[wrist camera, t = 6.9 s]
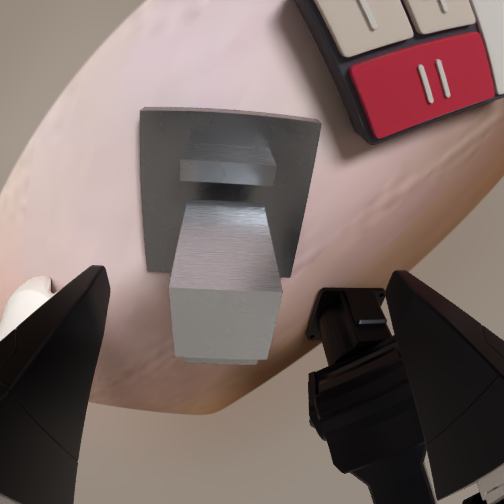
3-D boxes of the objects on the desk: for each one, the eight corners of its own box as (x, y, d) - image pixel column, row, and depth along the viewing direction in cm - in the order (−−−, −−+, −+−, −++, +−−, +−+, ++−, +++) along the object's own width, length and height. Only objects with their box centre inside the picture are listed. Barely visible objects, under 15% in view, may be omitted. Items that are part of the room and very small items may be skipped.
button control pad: (295, -21, 12) (494, -51, 8) (285, -9, 15) (461, -45, 11) (373, 152, 18) (536, 92, 14) (352, 132, 21) (502, 79, 17)
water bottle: (85, 331, 29) (34, 570, 9) (26, 311, 28) (-47, 530, 7) (86, 279, 26) (5, 574, 5) (18, 258, 24) (-92, 514, 3)
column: (254, 269, 20) (265, 364, 14) (187, 266, 19) (175, 361, 14) (263, 203, 17) (282, 292, 12) (187, 199, 17) (168, 287, 11)
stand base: (287, 268, 26) (299, 315, 22) (150, 261, 25) (136, 308, 21) (316, 119, 20) (342, 141, 15) (144, 107, 18) (119, 125, 14)
